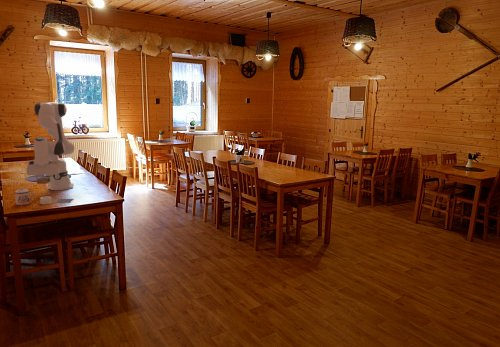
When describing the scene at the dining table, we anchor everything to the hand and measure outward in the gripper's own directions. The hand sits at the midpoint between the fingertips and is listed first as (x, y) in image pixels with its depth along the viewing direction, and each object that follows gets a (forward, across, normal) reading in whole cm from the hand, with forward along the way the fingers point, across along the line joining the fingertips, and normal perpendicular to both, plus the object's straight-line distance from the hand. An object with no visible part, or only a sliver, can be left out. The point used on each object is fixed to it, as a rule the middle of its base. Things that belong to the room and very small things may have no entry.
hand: (44, 181), depth 260 cm
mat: (+17, -11, -4) cm, 20 cm away
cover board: (+1, 0, 0) cm, 1 cm away
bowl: (+17, 0, 0) cm, 17 cm away
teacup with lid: (+17, +15, -5) cm, 23 cm away
